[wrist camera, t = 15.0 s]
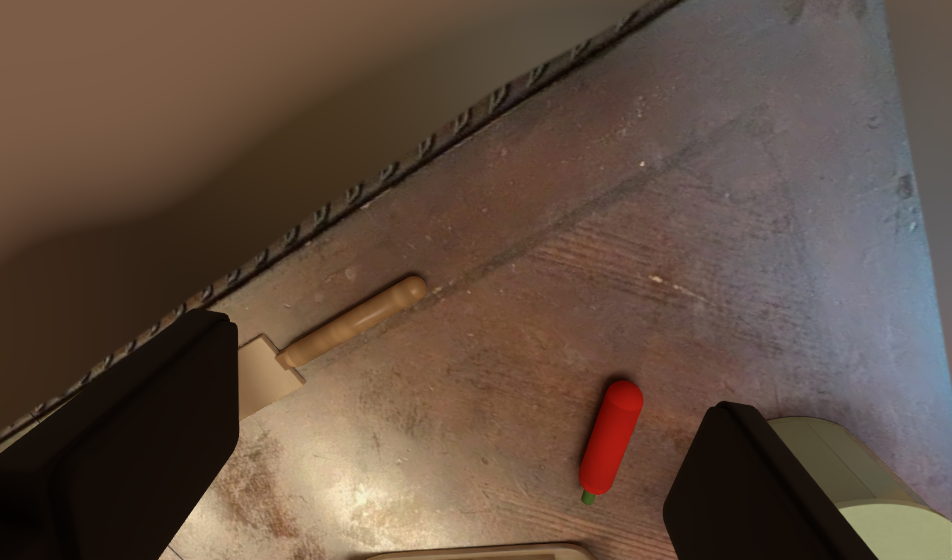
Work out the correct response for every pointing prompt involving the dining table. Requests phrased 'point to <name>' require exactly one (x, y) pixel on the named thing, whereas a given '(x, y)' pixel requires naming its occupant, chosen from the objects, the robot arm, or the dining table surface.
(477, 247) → the dining table surface
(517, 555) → the toy food set
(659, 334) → the dining table surface
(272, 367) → the spatula
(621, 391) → the chili pepper
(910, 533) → the pot lid
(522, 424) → the dining table surface
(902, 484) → the pot
